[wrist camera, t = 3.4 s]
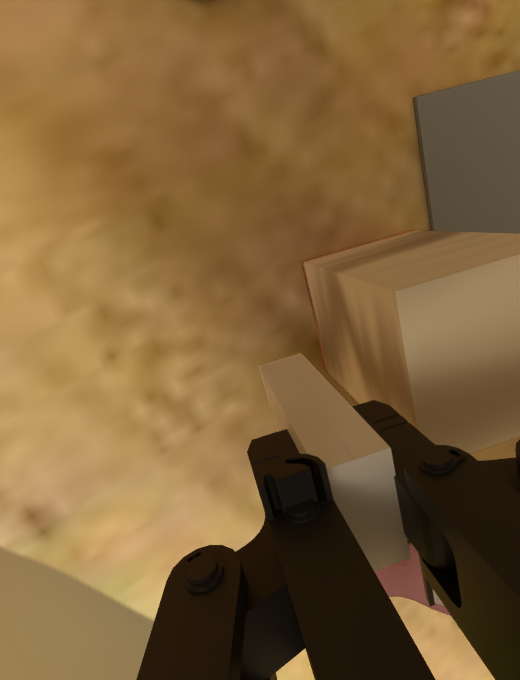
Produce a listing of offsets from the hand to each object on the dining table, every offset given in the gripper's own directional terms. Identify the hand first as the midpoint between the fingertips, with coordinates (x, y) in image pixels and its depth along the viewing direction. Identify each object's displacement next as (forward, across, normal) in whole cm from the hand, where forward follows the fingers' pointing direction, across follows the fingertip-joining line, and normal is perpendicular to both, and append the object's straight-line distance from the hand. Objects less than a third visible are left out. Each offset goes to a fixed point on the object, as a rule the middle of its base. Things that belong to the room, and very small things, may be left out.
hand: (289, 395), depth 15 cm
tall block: (+8, +6, 0) cm, 10 cm away
